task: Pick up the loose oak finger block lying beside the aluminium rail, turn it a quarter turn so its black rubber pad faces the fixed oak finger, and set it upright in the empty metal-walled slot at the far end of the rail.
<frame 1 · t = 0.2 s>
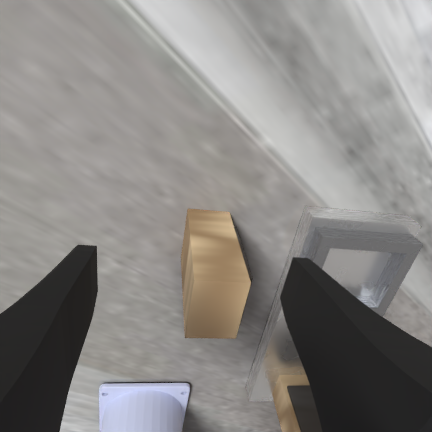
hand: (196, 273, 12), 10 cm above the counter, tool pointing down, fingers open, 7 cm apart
rail: (315, 313, 28), on the counter
fixed finger: (296, 384, 31), resting on rail
finger block: (204, 235, 23), on the counter
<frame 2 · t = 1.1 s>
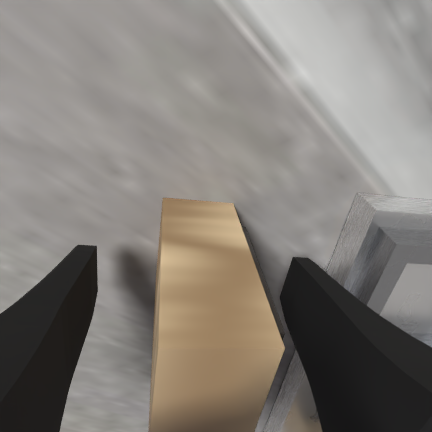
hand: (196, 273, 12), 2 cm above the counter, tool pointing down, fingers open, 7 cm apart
rail: (359, 354, 19), on the counter
finger block: (192, 242, 14), on the counter
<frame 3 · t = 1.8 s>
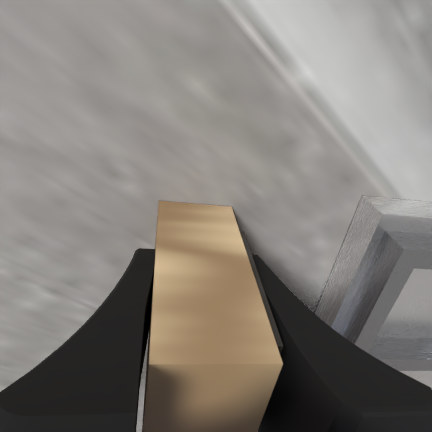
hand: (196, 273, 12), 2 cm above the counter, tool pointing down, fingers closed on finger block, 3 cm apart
rail: (362, 359, 19), on the counter
finger block: (189, 246, 14), on the counter, touching gripper
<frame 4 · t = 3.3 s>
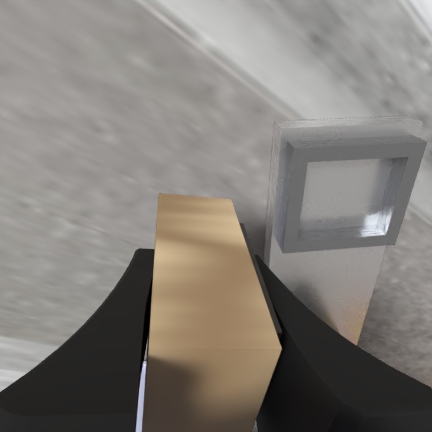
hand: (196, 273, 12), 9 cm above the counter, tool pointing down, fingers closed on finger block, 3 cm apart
rail: (317, 257, 24), on the counter
finger block: (189, 239, 14), point 7 cm above the counter, touching gripper
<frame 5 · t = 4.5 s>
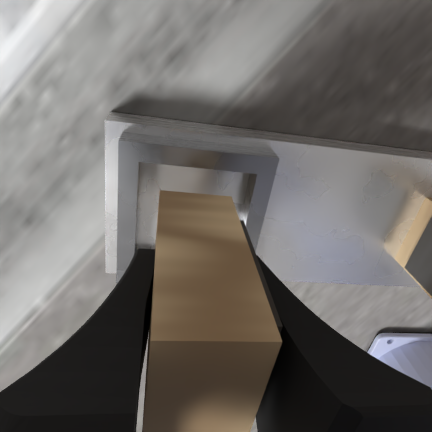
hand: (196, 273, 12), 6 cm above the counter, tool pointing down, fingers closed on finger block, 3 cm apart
rail: (296, 207, 19), on the counter
fixed finger: (431, 231, 19), resting on rail
finger block: (190, 236, 14), point 4 cm above the counter, touching gripper
when the fingers open (4 cm above the counter, at t = 5.1 s): finger block stays where it is, resting on rail.
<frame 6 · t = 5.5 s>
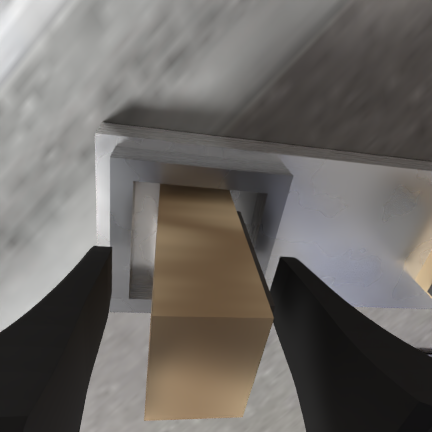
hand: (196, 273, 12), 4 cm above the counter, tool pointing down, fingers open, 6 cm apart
rail: (308, 225, 17), on the counter
finger block: (189, 228, 15), point 1 cm above the counter, touching rail
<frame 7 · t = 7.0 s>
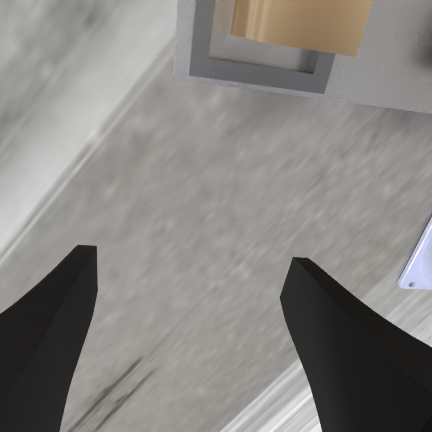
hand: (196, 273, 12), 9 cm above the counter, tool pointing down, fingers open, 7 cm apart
rail: (372, 18, 17), on the counter
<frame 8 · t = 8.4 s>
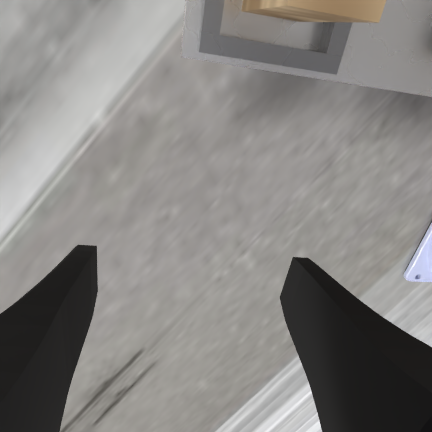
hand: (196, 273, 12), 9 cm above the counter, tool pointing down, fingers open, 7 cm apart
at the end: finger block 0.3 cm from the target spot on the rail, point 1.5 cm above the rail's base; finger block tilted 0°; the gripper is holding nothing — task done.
